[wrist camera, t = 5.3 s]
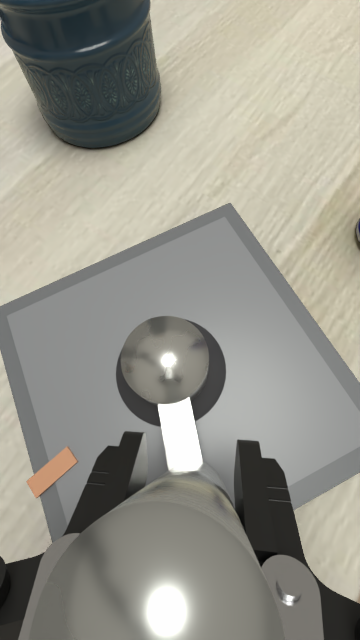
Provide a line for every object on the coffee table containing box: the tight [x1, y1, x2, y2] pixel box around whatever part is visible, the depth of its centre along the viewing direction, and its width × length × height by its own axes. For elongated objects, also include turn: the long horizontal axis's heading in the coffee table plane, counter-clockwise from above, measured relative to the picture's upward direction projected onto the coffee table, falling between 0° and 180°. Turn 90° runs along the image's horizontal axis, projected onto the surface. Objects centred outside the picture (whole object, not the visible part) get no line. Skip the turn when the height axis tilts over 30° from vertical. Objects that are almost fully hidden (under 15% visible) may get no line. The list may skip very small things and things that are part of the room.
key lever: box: [29, 316, 285, 640], centre depth 11 cm, size 10×4×13 cm, turn 11°
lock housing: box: [0, 203, 360, 543], centre depth 21 cm, size 18×18×5 cm
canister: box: [0, 0, 161, 148], centre depth 27 cm, size 13×13×18 cm
